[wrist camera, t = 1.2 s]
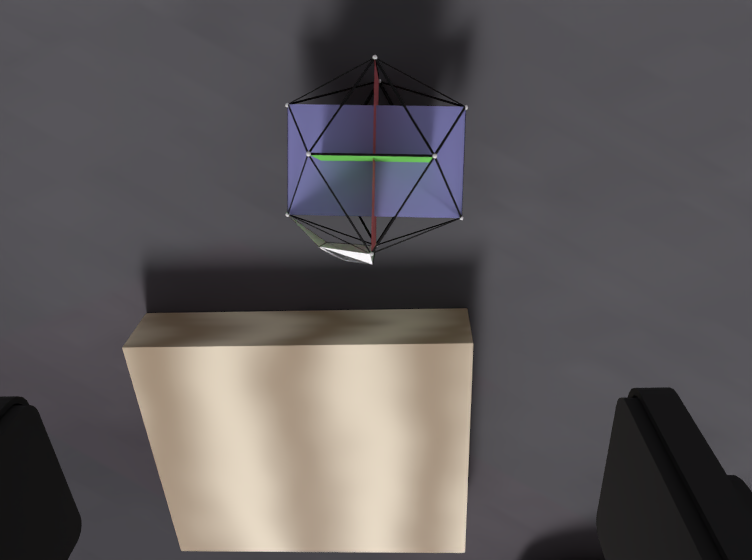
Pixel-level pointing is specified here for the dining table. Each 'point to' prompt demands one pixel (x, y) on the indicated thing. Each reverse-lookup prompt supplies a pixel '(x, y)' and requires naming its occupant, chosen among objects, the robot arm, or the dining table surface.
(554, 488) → the dining table surface
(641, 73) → the dining table surface
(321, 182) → the geometric puzzle
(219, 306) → the dining table surface
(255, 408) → the birch platform
